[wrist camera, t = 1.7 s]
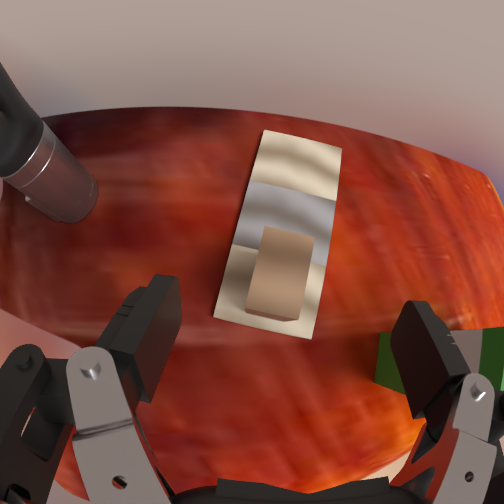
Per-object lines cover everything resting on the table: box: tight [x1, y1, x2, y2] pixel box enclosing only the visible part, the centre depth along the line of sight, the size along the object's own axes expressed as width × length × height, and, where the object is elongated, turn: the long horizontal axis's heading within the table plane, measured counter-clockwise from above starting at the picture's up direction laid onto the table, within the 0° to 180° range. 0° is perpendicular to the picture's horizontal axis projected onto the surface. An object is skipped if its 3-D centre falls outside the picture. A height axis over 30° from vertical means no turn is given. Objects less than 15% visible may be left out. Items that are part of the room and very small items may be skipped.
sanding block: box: [245, 226, 315, 322], centre depth 32 cm, size 8×5×11 cm, turn 167°
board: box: [213, 130, 342, 339], centre depth 40 cm, size 30×13×1 cm, turn 167°
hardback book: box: [374, 327, 504, 395], centre depth 24 cm, size 18×7×24 cm, turn 83°
